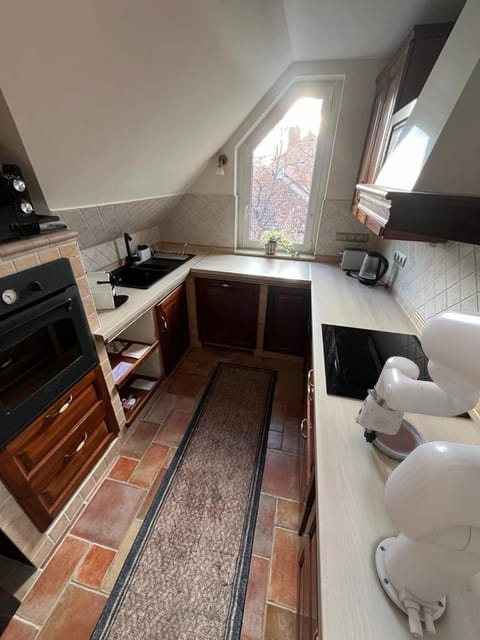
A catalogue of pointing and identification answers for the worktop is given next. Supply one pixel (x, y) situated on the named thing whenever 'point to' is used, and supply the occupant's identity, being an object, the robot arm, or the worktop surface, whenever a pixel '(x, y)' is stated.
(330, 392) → the worktop surface
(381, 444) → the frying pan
